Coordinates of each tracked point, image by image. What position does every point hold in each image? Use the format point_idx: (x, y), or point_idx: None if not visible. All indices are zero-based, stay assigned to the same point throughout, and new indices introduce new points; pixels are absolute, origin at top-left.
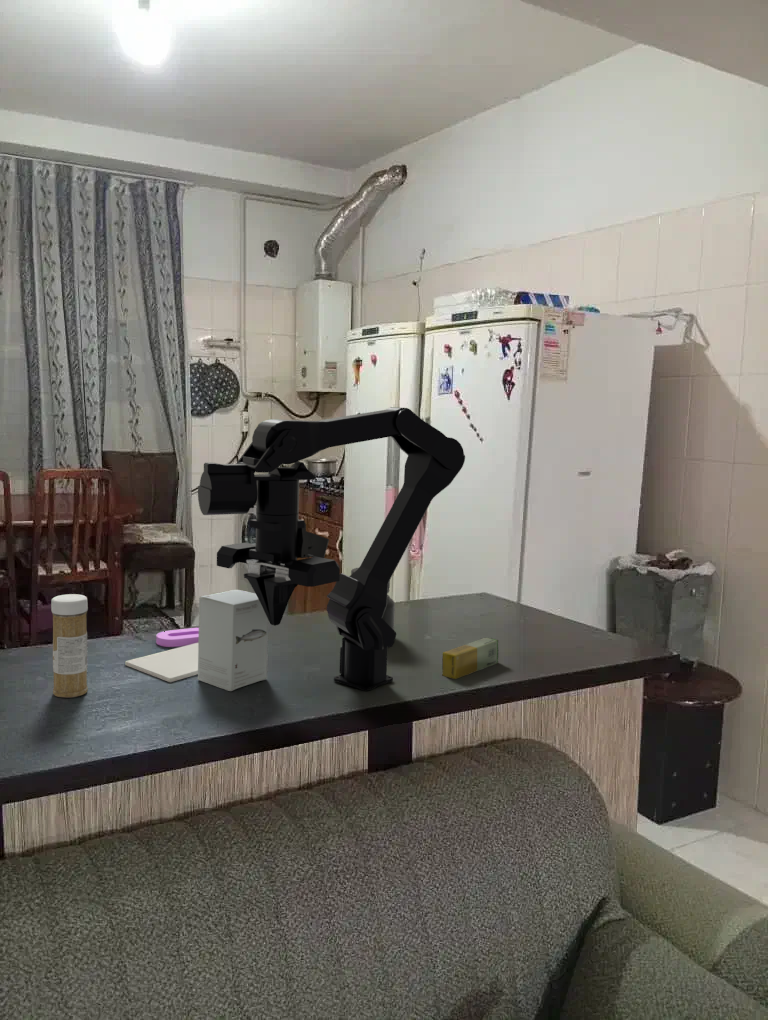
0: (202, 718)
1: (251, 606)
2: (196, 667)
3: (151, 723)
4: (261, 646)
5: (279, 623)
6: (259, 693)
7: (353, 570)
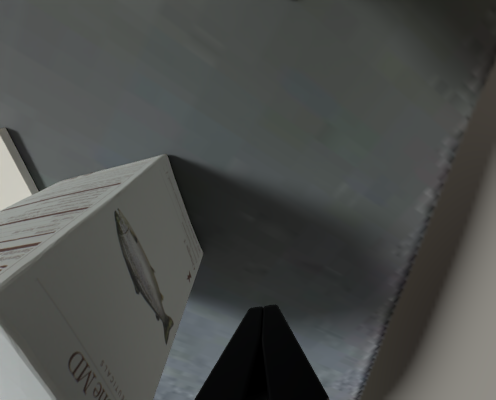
0: None
1: (89, 387)
2: None
3: None
4: (144, 213)
5: (277, 308)
6: (241, 212)
7: None
